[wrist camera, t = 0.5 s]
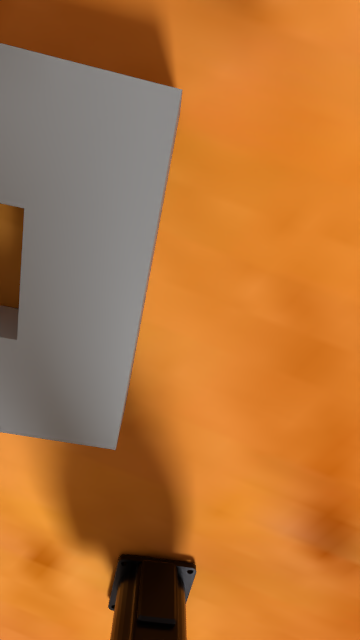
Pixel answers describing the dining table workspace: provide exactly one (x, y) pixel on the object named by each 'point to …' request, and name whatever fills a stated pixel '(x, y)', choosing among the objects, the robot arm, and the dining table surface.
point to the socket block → (78, 238)
